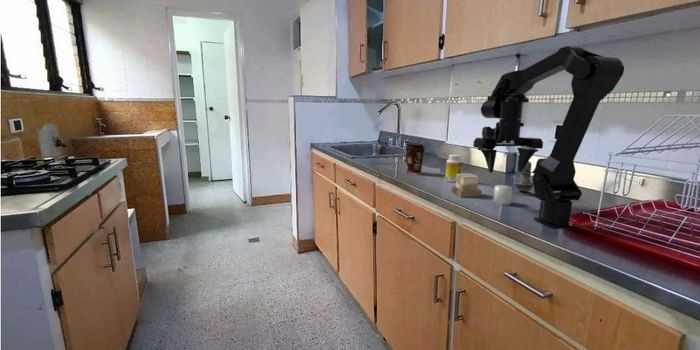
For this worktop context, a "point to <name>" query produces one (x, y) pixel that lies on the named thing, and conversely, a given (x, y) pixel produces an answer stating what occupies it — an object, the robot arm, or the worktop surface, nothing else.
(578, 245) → the worktop surface
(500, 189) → the pale green rounded block
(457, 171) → the supplement bottle
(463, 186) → the cube
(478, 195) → the slab
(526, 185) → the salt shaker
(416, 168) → the coffee cup
